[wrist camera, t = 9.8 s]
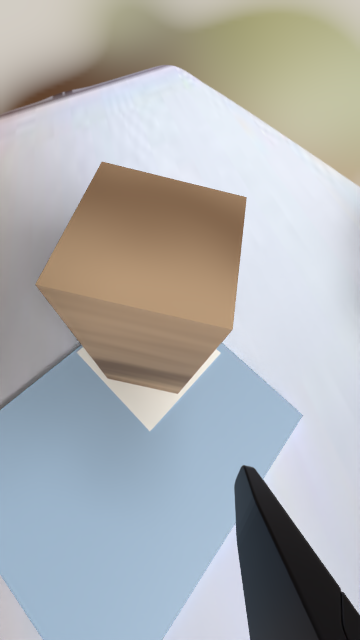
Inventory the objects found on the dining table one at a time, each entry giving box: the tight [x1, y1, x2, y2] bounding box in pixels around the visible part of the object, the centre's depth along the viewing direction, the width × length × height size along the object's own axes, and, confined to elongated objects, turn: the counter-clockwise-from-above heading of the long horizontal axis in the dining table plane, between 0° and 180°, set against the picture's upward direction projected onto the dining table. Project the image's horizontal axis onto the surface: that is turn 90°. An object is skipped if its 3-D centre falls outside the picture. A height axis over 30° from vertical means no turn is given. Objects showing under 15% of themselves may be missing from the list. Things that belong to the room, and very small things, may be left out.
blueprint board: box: [0, 343, 303, 640], centre depth 16 cm, size 18×15×1 cm
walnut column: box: [35, 162, 247, 394], centre depth 13 cm, size 5×5×12 cm
